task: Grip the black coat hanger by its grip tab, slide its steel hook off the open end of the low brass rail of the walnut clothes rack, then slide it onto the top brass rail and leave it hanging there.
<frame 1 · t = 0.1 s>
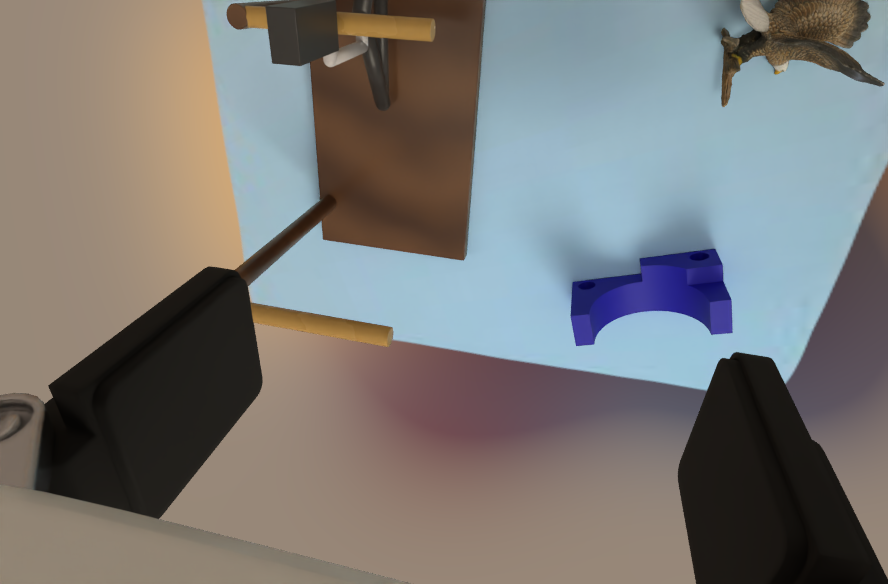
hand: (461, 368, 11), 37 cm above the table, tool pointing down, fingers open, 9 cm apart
rack: (395, 105, 46), on the table
hanger: (330, 23, 31), point 13 cm above the table, touching rack
cable clip: (641, 280, 48), on the table
eagle figurine: (784, 39, 37), on the table
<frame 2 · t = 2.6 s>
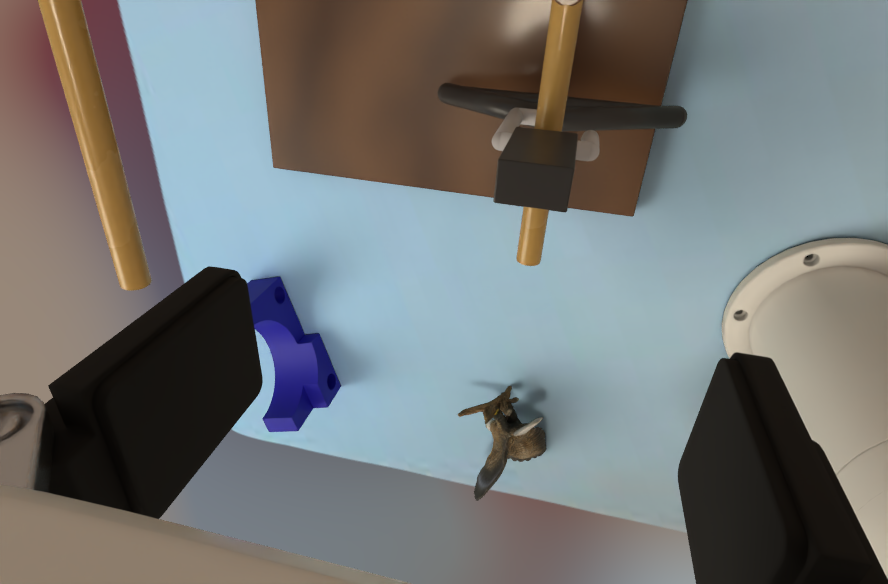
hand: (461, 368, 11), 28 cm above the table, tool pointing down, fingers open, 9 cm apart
rack: (452, 83, 35), on the table
hanger: (545, 144, 24), point 13 cm above the table, touching rack
cable clip: (298, 334, 49), on the table
eagle figurine: (509, 419, 49), on the table
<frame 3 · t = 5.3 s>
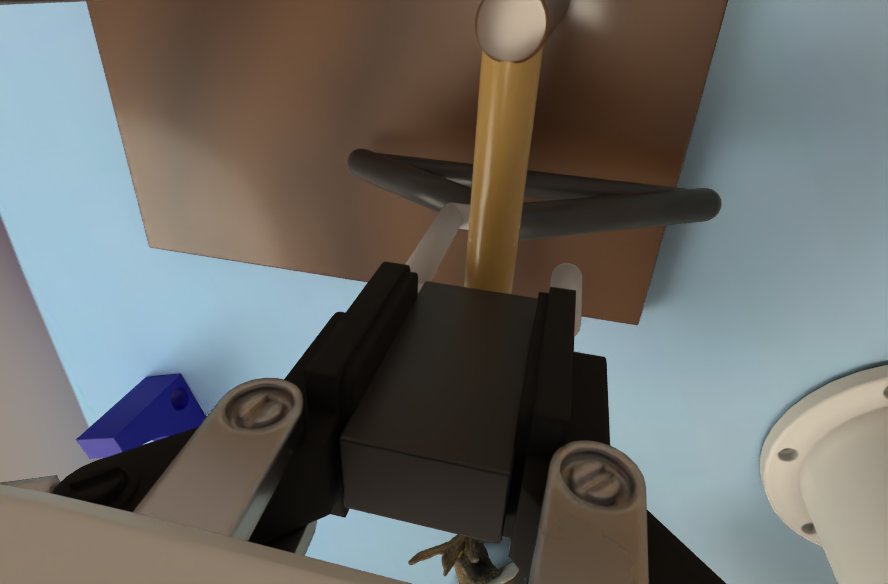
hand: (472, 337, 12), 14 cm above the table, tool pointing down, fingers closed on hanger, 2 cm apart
rack: (379, 139, 25), on the table
hanger: (484, 301, 13), point 13 cm above the table, touching gripper, rack
cable clip: (212, 439, 39), on the table
eagle figurine: (480, 547, 38), on the table
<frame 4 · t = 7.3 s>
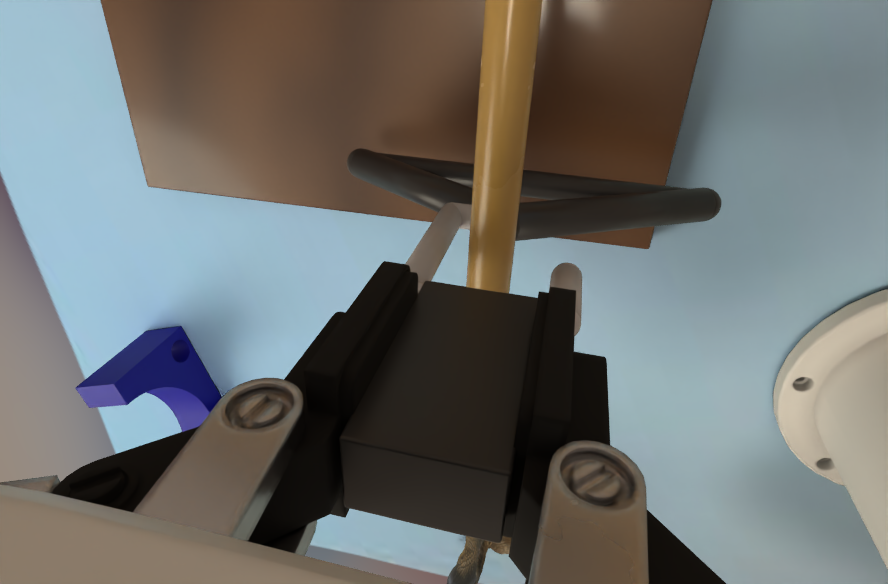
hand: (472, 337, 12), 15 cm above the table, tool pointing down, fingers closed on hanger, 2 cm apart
rack: (381, 61, 24), on the table
hanger: (484, 300, 13), point 14 cm above the table, touching gripper
cable clip: (214, 396, 38), on the table
eagle figurine: (487, 502, 38), on the table
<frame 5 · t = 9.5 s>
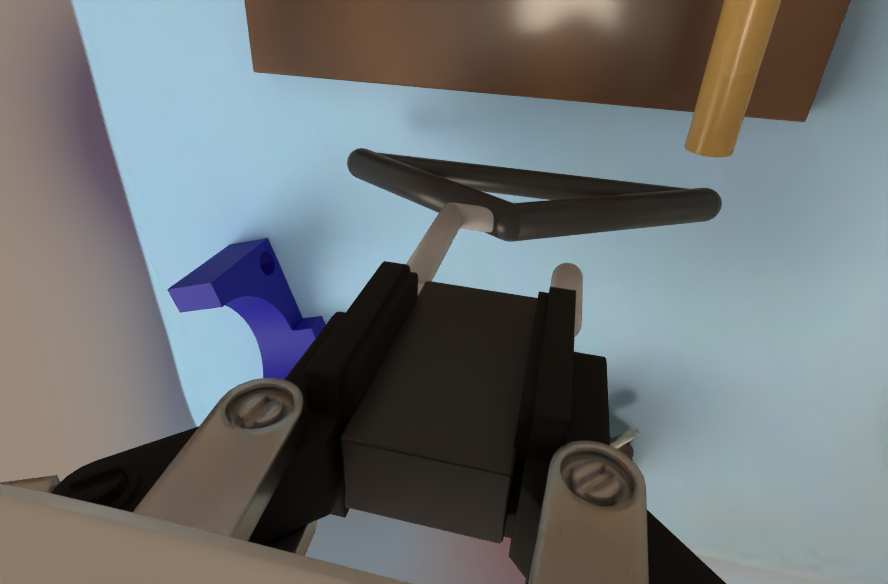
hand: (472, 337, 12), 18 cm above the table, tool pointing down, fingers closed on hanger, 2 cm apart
hanger: (484, 300, 13), point 17 cm above the table, touching gripper
cable clip: (294, 318, 37), on the table
eagle figurine: (579, 430, 36), on the table
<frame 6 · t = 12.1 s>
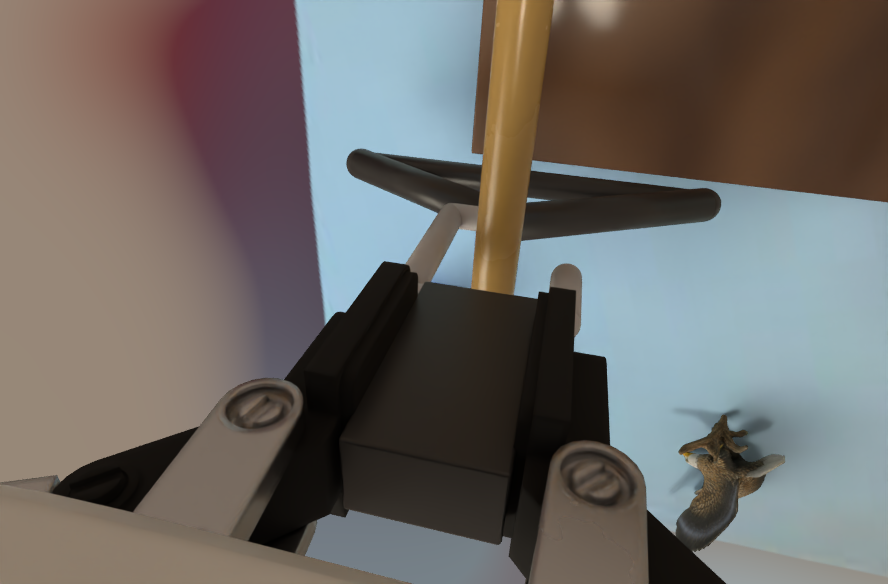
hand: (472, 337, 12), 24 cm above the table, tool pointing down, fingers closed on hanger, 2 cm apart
rack: (734, 41, 28), on the table
hanger: (483, 301, 13), point 22 cm above the table, touching gripper
eagle figurine: (711, 452, 41), on the table
when the fingers open (22 cm above the table, at t = 14.0 s): hanger stays where it is, resting on rack.
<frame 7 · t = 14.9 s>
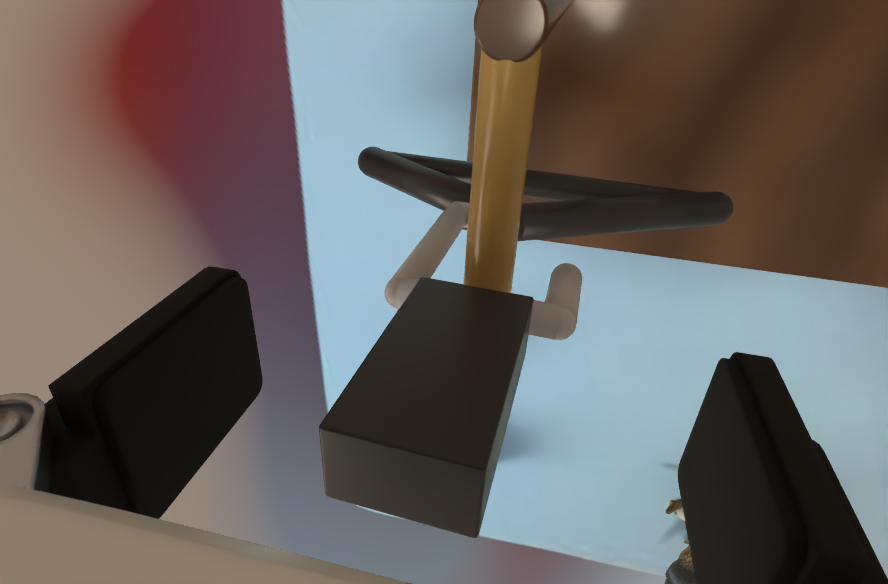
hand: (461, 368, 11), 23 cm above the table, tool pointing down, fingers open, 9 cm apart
rack: (712, 133, 29), on the table
hanger: (480, 298, 13), point 21 cm above the table, touching rack
eagle figurine: (699, 504, 42), on the table
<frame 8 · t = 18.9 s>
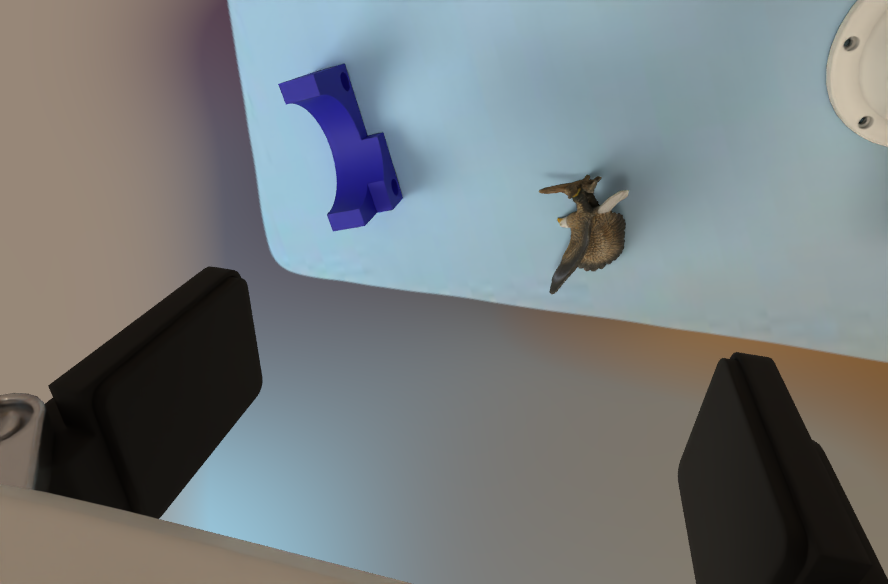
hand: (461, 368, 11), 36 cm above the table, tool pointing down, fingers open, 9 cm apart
cable clip: (360, 137, 47), on the table
eagle figurine: (583, 220, 46), on the table
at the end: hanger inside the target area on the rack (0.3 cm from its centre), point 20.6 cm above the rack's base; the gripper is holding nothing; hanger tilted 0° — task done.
